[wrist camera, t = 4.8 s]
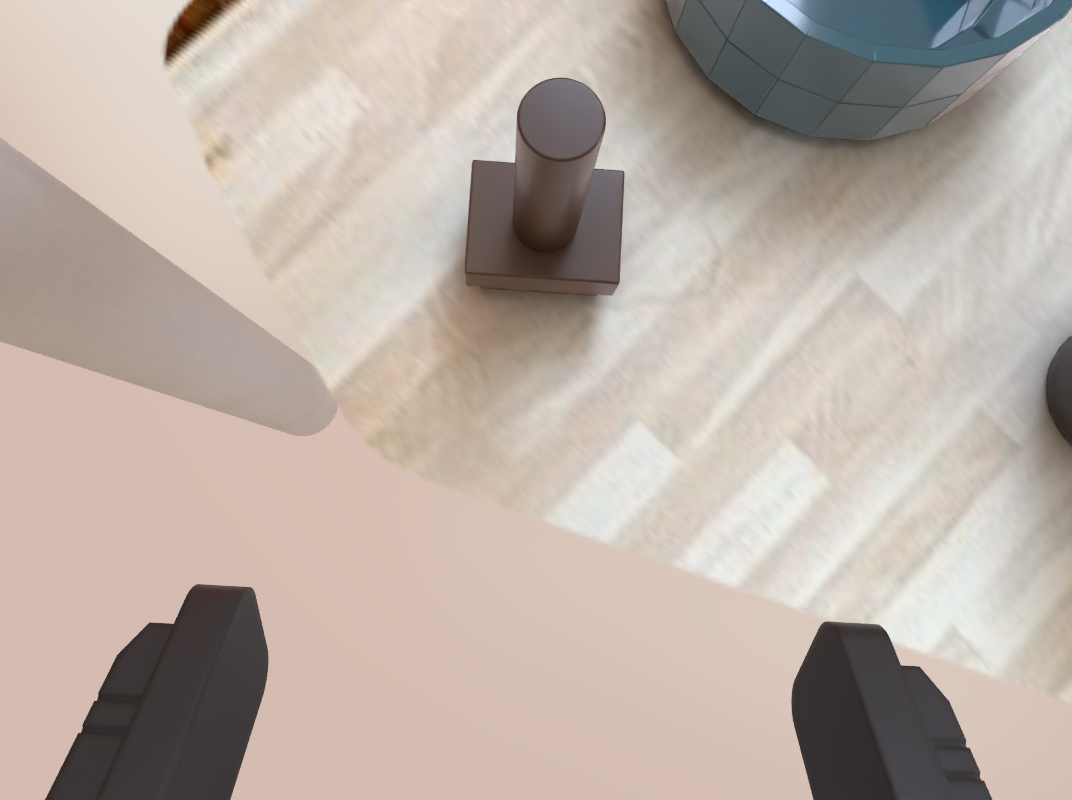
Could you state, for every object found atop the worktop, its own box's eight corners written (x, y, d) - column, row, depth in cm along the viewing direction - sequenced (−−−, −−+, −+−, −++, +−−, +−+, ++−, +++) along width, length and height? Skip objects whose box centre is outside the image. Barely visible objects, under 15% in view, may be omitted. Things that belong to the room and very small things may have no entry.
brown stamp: (468, 298, 29) (449, 188, 19) (475, 194, 30) (461, 34, 20) (607, 307, 30) (663, 204, 19) (611, 204, 30) (669, 50, 20)
